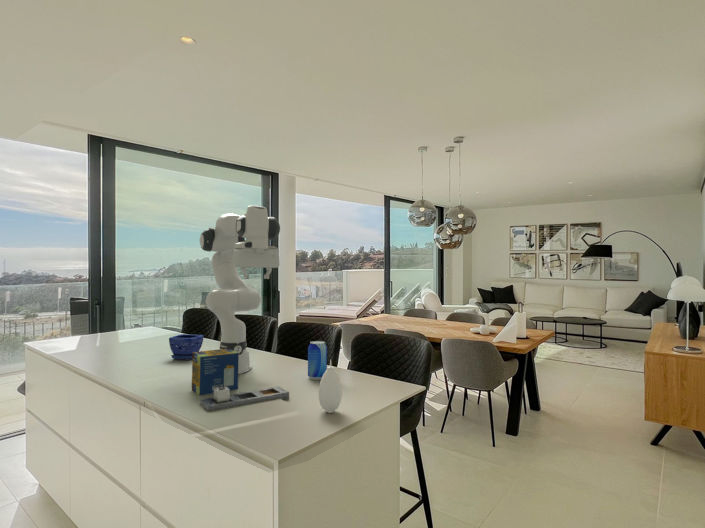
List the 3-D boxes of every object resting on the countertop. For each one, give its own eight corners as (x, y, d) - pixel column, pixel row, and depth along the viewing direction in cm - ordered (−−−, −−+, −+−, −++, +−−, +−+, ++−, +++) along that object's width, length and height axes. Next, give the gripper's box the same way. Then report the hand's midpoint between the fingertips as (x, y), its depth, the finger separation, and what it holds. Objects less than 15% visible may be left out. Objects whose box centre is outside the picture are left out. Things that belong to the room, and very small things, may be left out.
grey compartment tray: (200, 406, 143) (200, 399, 143) (278, 392, 161) (278, 386, 161) (207, 414, 136) (208, 406, 136) (289, 398, 154) (289, 392, 154)
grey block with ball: (213, 403, 144) (213, 387, 144) (225, 401, 146) (225, 385, 146) (217, 407, 140) (217, 390, 140) (229, 405, 143) (229, 388, 143)
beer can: (303, 377, 183) (304, 342, 184) (317, 374, 189) (318, 339, 190) (316, 381, 178) (317, 344, 178) (330, 378, 184) (330, 342, 184)
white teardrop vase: (314, 414, 138) (315, 360, 138) (324, 407, 145) (325, 356, 145) (336, 417, 135) (336, 362, 135) (344, 409, 142) (345, 358, 142)
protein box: (191, 391, 161) (191, 351, 162) (229, 385, 170) (230, 347, 171) (198, 398, 153) (199, 356, 153) (238, 391, 162) (239, 352, 162)
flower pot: (181, 355, 228) (182, 333, 228) (203, 356, 226) (204, 334, 226) (167, 360, 215) (168, 337, 215) (191, 361, 213) (191, 338, 213)
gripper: (274, 246, 176) (273, 278, 176) (230, 243, 161) (229, 279, 161) (282, 245, 171) (282, 279, 171) (238, 243, 157) (238, 279, 157)
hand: (256, 279), depth 166 cm, fingers open, 8 cm apart
